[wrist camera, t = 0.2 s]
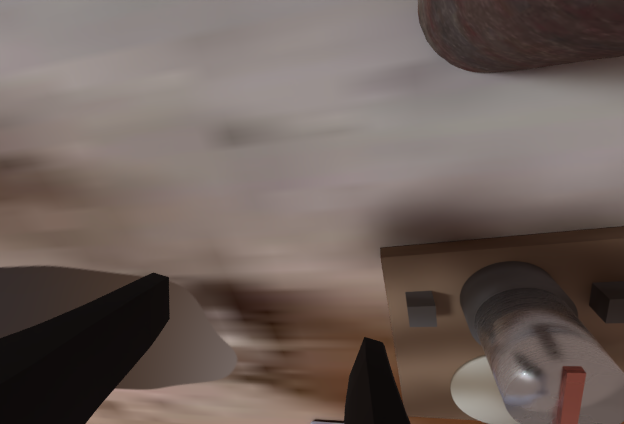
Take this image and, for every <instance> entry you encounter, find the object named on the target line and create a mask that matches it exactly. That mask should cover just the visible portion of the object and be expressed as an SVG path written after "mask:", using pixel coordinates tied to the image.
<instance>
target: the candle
mask: <svg viewBox="0 0 624 424" xmlns="http://www.w3.org/2000/svg"><path fill="white" fill-rule="evenodd" d="M418 16H419V23H420V25H421V28H422V30H423V33H424V35H425V37H426V40H427V42H428V43H429V44H430V46H431V47H432V48H433V49H434V51H435V52H436V53H437V54H438V55H439V56H441V57H442V58H444V59H445V60H446V61H448V62H449V63H450V64H452V65H454V66H456V67H458V68H461V69H464V70H467V71H472V72H502V71H514V70H523V69H531V68H539V67H546V66H553V65H560V64H566V63H573V62H580V61H586V60H594V59H602V58H611V57H619V56H624V0H418Z"/></svg>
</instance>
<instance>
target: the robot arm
mask: <svg viewBox="0 0 624 424" xmlns="http://www.w3.org/2000/svg"><path fill="white" fill-rule="evenodd" d="M168 320H169V277H166V276H163V275H159V274H156V273H151V274H149V275H147V276H145V277H142V278H140V279H139V280H136V281H134V282H132V283H130V284H128V285H126V286H124V287H122V288H119V289H117V290H115V291H113V292H111V293H109V294H107V295H104V296H102V297H100V298H98V299H96V300H94V301H92V302H89V303H87V304H85V305H83V306H81V307H78V308H76V309H74V310H71V311H69V312H67V313H64V314H62V315H59V316H57V317H55V318H53V319H50V320H48V321H45V322H43V323H40V324H38V325H36V326H33V327H30V328H27V329H25V330H22V331H20V332H17V333H14V334H11V335H8V336H6V337H3V338H0V424H86V422H87V421H88V420H89V418H90V417H91V416H92V415H93V413H94V412H95V411H96V410H97V408H98V407H99V406H100V405H101V404H102V402H103V401H104V400H105V399H106V398H107V397H108V395H109V394H110V393H111V392H112V391H113V390H114V389H115V387H116V386H117V385H118V384H119V383H120V382H121V380H122V379H123V378H124V377H125V375H127V373H128V372H129V371H130V370H131V369H132V368H133V367H134V365H135V364H136V363H137V362H138V360H139V359H140V358H141V357H142V356H143V355H144V354H145V352H146V351H147V350H148V349H149V348H150V346H151V345H152V344H153V342H154V341H155V340H156V338H157V337H158V335H159V334H160V332H161V331H162V329H163V328H164V326H165V325H166V323H167V322H168ZM310 424H410V421H409V419H408V416H407V413H406V411H405V408H404V405H403V402H402V400H401V397H400V394H399V392H398V389H397V386H396V383H395V380H394V377H393V374H392V370H391V367H390V364H389V360H388V357H387V353H386V350H385V346H384V344H383V343H382V342H380V341H376V340H373V339H370V338H366V337H364V340H363V342H362V345H361V347H360V350H359V353H358V355H357V358H356V360H355V363H354V366H353V368H352V371H351V373H350V376H349V382H348V389H347V396H346V404H345V416H344V423H333V422H318V421H313V422H311V423H310Z"/></svg>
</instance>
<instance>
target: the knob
mask: <svg viewBox="0 0 624 424" xmlns="http://www.w3.org/2000/svg"><path fill="white" fill-rule="evenodd" d="M474 325H475V330H476V332H477V335H478V338H479V340H480V343H481V345H482V348H483V350H484V353H485V356H486V358H487V361H488V363H489V366H490V368H491V371H492V374H493V376H494V379H495V381H496V384H497V386H498V389H499V392H500V394H501V397H502V399H503V402H504V405H505V407H506V409H507V411H508V413H509V414H510V415H511V417H512V418H513V419H515V420H516V421H517V422H518V423H520V424H620V423H622V422H623V421H624V372H623V371H622V370H621V369H620V368H619V366H618V365H617V364H616V363H615V362H614V360H613V359H612V358H611V357H610V356H609V354H608V353H607V352H606V351H605V350H604V348H603V347H602V346H601V345H600V344H599V342H598V341H597V340H596V339H595V338H594V336H593V335H592V334H591V333H590V332H589V330H588V329H587V328H586V327H585V326H584V324H583V323H582V322H581V321H580V320H579V318H578V317H577V316H576V315H575V314H574V312H573V311H572V310H571V309H570V308H569V306H568V305H567V304H566V303H565V302H564V301H563V300H562V299H561V298H560V297H558V296H557V295H555V294H553V293H551V292H549V291H546V290H542V289H537V288H515V289H510V290H506V291H503V292H500V293H498V294H496V295H494V296H492V297H491V298H489V299H488V300H487V301H485V302H484V303H483V304H482V305H481V306H480V308H479V309H478V311H477V313H476V316H475V321H474Z"/></svg>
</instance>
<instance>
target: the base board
mask: <svg viewBox="0 0 624 424" xmlns="http://www.w3.org/2000/svg"><path fill="white" fill-rule="evenodd" d="M380 249H381V263H382V270H383V276H384V282H385V289H386V295H387V302H388V308H389V314H390V321H391V327H392V334H393V340H394V347H395V353H396V359H397V366H398V372H399V379H400V385H401V391H402V398H403V404H404V408H405V411H406V413H407V416H411V417H429V418H447V419H465V420H479V421H482V422H485V423H489V424H520V423H518V422H517V421H516V420H515V419H513V418H512V417H511V415H510V414H509V413H508V411H507V409H506V407H505V405H504V402H503V399H502V397H501V394H500V392H499V389H498V386H497V384H496V381H495V379H494V376H493V374H492V371H491V368H490V366H489V363H488V361H487V358H486V356H485V353H484V350H483V348H482V345H481V343H480V340H479V338H478V335H477V332H476V330H475V325H474V321H475V316H476V313H477V311H478V309H479V308H480V306H481V305H482V304H483V303H484V302H485V301H487V300H488V299H489V298H491V297H492V296H494V295H496V294H498V293H500V292H503V291H506V290H510V289H515V288H537V289H542V290H546V291H549V292H551V293H553V294H555V295H557V296H558V297H560V298H561V299H562V300H563V301H564V302H565V303H566V304H567V305H568V306H569V308H570V309H571V310H572V311H573V312H574V314H575V315H576V316H577V317H578V318H579V320H580V321H581V322H582V323H583V324H584V326H585V327H586V328H587V329H588V330H589V332H590V333H591V334H592V335H593V336H594V338H595V339H596V340H597V341H598V342H599V344H600V345H601V346H602V347H603V348H604V350H605V351H606V352H607V353H608V354H609V356H610V357H611V358H612V359H613V360H614V362H615V363H616V364H617V365H618V366H619V368H620V369H621V370H622V371H623V372H624V226H621V227H610V228H599V229H588V230H576V231H565V232H554V233H543V234H531V235H520V236H509V237H498V238H486V239H475V240H464V241H453V242H441V243H430V244H419V245H408V246H396V247H385V248H380Z"/></svg>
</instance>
